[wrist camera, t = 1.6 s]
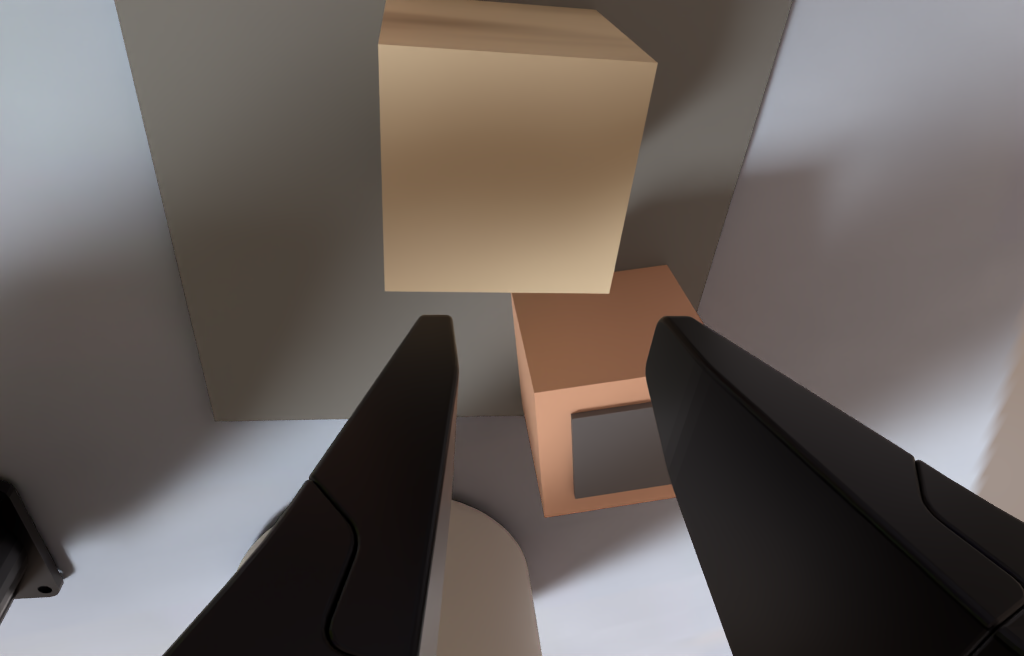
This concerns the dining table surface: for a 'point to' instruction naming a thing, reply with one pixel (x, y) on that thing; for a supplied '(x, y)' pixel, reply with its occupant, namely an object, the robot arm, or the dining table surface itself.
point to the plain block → (506, 145)
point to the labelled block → (594, 390)
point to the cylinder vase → (481, 590)
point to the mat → (358, 186)
